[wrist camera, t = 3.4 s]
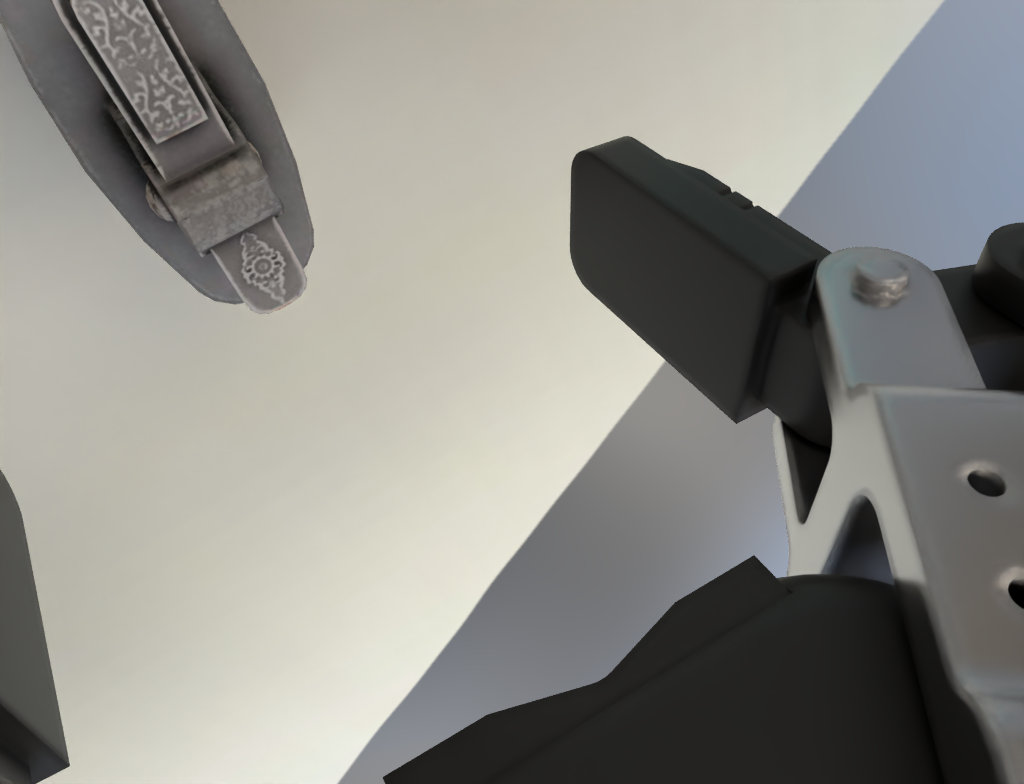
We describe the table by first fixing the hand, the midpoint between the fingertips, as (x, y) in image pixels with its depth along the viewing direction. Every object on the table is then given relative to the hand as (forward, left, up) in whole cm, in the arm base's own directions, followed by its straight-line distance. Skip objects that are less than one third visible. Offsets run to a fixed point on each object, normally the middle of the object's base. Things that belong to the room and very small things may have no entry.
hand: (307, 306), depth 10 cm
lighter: (0, 0, -14) cm, 14 cm away
